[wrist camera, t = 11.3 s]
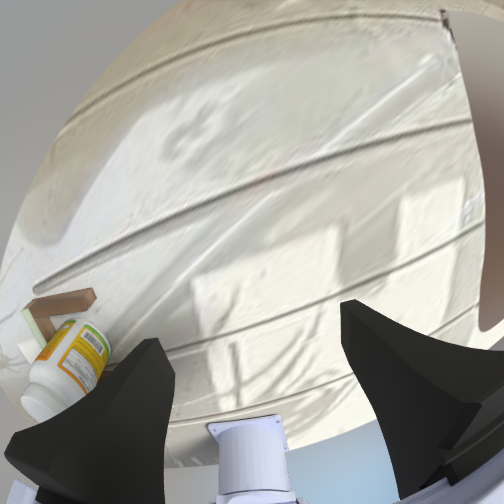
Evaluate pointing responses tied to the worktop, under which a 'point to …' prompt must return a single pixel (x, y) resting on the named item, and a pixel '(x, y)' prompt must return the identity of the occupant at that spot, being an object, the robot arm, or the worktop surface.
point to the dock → (56, 305)
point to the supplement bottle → (66, 369)
